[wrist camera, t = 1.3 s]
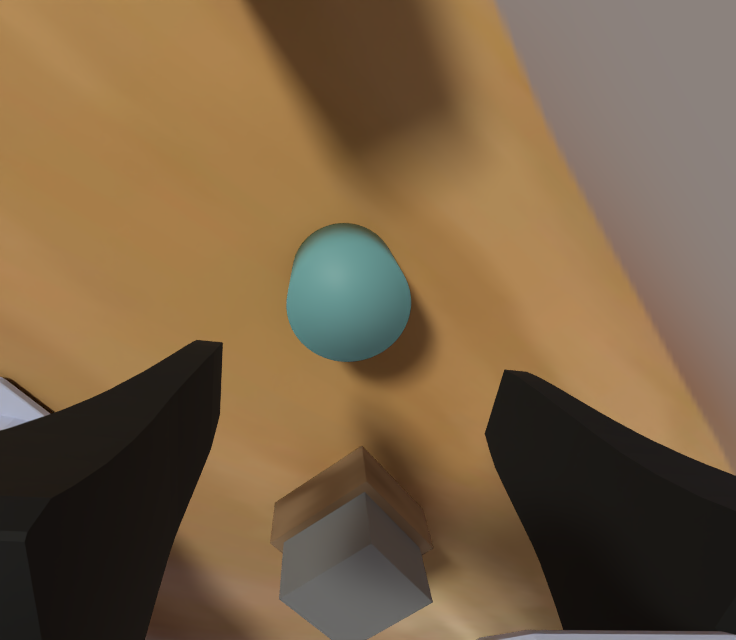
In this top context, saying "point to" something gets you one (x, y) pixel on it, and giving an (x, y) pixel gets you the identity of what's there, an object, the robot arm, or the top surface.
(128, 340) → the top surface
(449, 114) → the top surface
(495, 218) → the top surface
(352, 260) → the teal rounded piece
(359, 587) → the top block
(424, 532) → the base block
